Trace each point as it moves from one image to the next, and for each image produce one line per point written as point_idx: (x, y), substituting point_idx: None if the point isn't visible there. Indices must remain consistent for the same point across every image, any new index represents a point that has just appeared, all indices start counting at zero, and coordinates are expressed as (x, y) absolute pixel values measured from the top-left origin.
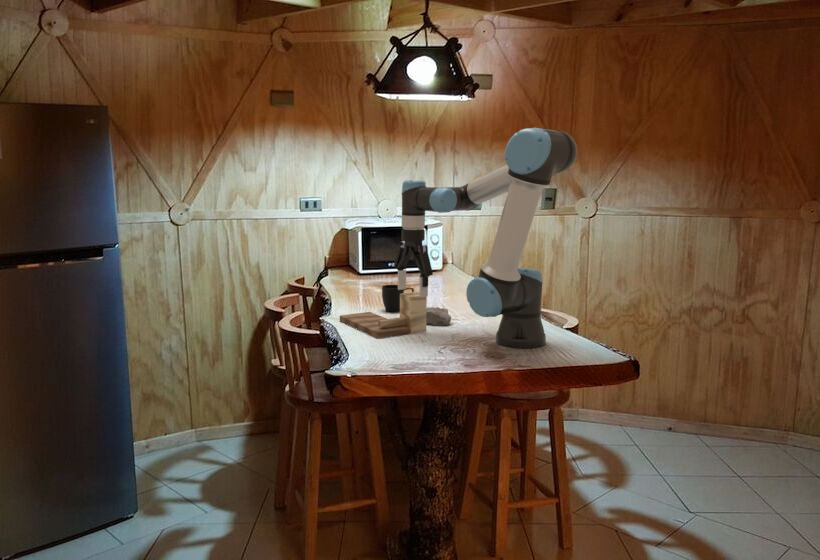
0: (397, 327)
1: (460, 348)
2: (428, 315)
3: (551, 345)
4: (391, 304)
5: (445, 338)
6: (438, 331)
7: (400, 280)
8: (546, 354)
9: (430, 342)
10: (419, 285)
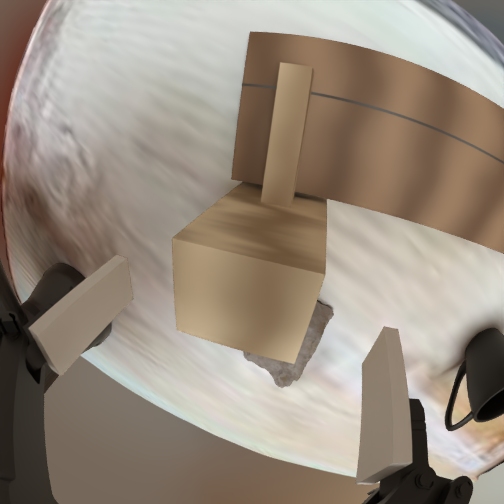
0: (268, 142)
1: (69, 186)
2: None
3: None
4: (487, 347)
5: (139, 221)
6: None
7: (384, 390)
8: (32, 267)
9: (126, 159)
10: (78, 296)
